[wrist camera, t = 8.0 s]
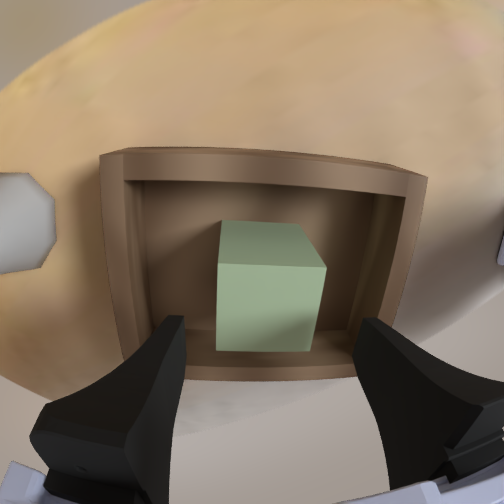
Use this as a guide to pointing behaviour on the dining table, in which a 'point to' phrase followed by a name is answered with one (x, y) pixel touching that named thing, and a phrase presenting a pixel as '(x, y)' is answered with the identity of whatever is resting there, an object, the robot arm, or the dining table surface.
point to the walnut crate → (258, 210)
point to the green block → (267, 287)
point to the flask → (24, 223)
